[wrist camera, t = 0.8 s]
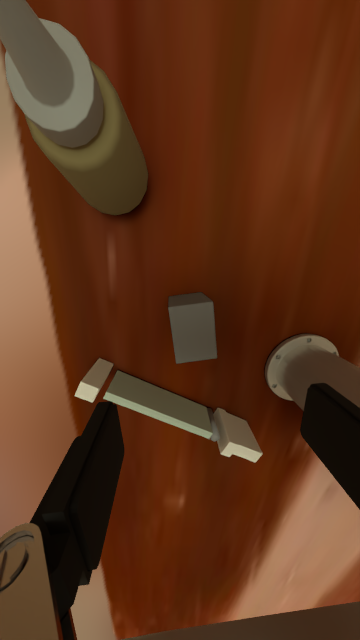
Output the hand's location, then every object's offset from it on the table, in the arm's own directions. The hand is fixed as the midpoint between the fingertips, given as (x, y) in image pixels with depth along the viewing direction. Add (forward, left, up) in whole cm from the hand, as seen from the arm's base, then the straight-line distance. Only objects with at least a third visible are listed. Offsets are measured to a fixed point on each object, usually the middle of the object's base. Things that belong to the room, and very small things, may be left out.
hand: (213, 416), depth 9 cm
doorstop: (-1, 0, -21) cm, 21 cm away
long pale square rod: (-4, +15, -20) cm, 25 cm away
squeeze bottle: (+15, -11, -21) cm, 28 cm away
